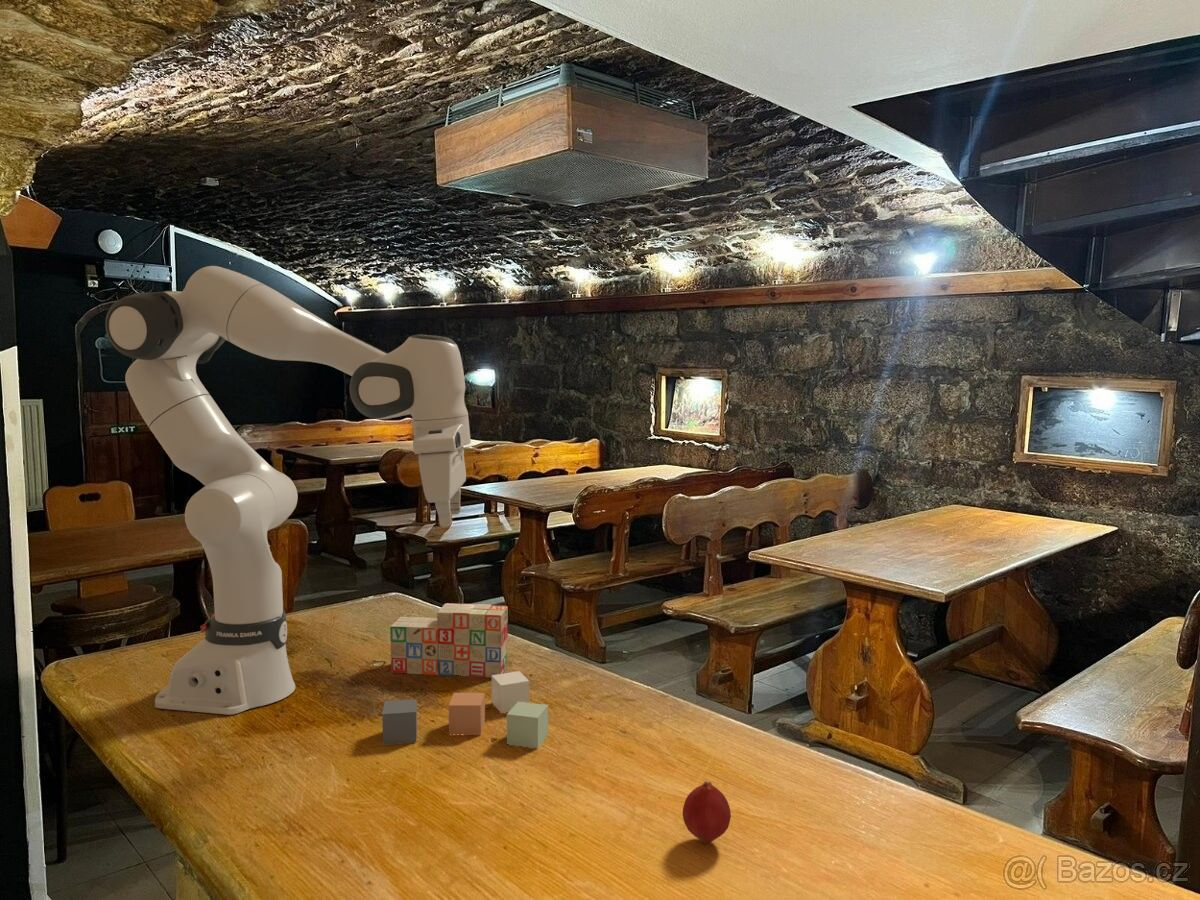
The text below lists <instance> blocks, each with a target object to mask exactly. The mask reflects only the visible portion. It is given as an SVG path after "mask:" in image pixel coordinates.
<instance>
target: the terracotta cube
mask: <svg viewBox="0 0 1200 900" xmlns="http://www.w3.org/2000/svg"><path fill="white" fill-rule="evenodd" d="M485 697H486V695H485V692H453V693H452V696H451V699H450V701H449V704H448V735H449V734H451V735H450V736H456V735H457V734H459V735H461V734H464V735H481V736H482V734H481V733H483V730H484V727H485V724H484V723H486V703H485V702H486V699H485ZM483 726H484V727H483ZM482 729H483V730H482ZM453 734H455V735H453Z"/></svg>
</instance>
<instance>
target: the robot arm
mask: <svg viewBox="0 0 1200 900" xmlns="http://www.w3.org/2000/svg"><path fill="white" fill-rule="evenodd" d="M105 333H106V336H107V338H108V340H109V341H110V343H111V345H112V346H113V348H115V350H116V351H118V352H119V353H120V354H121V355H124V356H126V357H128V358H131V359H135V360H134V362H132V363H131V364H130V365H129V367H128V369H127V371H126V372H125V377H124V378H125V385H126V388H127V389H128V392H129V395H130V396H131V399H132V401H133V402H134V403H133V404H135V406H136V409H137V411H138V412H139V414H140V416H141V418H142V419H143V421H144V422H145V424H146V425H147V427H148V428H149V430H150V432H151V433H152V434H153V435H154V437H155V439H156V440H157V441H158V443H159V444H160V445H161V447H162V449H163V450H164V451H165V453H166V454H167V456H168V457H169V458H170V460H171V462H172V463H173V465H174V466H175V467H177V468H178V469H179V470H181V471H182V472H185V473H187V474H189V475H191V476H192V477H194V478H195V479H196V480H198V481H199V482H200V483H201V484H202V485H203V487H202V488H201V489H199V490H198V491H197V492H195V493H194V494H193V495H192V496H191V497H190V499H189V500H188V502H187V503H186V506H185V511H184V520H185V521H184V522H185V525H186V528H187V529H188V530H187V531H189V533H190V535H191V536H192V537H193V538H194V539H195V540H196V541H198V542H199V543H200V544H201V546H202V548H203V550H204V553H205V555H206V559H207V561H208V564H209V569H210V572H211V577H212V587H213V604H214V606H213V607H214V609H213V610H214V613H213V614H211V617H210V618H209V619H207V620H205V621H204V624H202V625H200V634H202V633H205V634H204V635H205V637H204V639H202V640H201V641H200V642H198V643H197V644H196V645H195V646H193V647H192V648H191V649H190V650H189V651H187V652H186V653H185V654H184V655H182V656H181V657H180V658H179V659H178V660H177V661H176V662H175V664H173V667H172V669H171V671H170V672H171V673H170V676H169V681H168V682H169V683H168V685H166V686H165V687H163V688H162V689H161V690H160V691H159V692H158V693H157V694H156V696H155V697H154V698H155V699H154V708H156V709H162V710H163V709H164V710H174V711H186V712H194V713H195V712H196V713H206V714H217V715H218V714H220V715H226V716H230V715H231V716H232V715H235V714H239V713H242V712H245V711H246V710H249V709H254V708H257V707H263V706H265V705H270V704H273V703H275V702H279V701H281V700H284V699H285V698H287V697H288V696H290V695H291V694H292V693H294V691H295V690H296V684H295V681H294V679H293V675H292V671H291V667H290V664H289V663H290V662H289V660H288V654H287V645H286V643H287V641H288V640H287V638H288V624H287V615H286V611H285V609H284V599H283V597H284V596H283V595H284V594H283V571H282V569H281V567H280V566H281V565H279V564H278V562H276V560H275V559H274V557H273V554H272V552H271V548H270V545H269V541H268V531H271V530H273V529H275V528H277V527H278V526H280V525H282V524H283V523H284V522H285V521H286V520H287V519H288V518H289V517H290V516H291V515H292V513H293V512H294V510H295V509H296V507H297V504H298V498H299V497H298V496H299V495H298V490H297V487H296V485H295V484H294V482H293V480H292V479H291V477H289V476H287V475H286V474H285V473H283V472H281V471H279V470H277V469H276V468H274V467H273V466H272V465H270V464H269V463H268V462H267V461H266V460H265V459H264V458H263V457H262V456H261V455H260V454H259V453H257V451H255V449H254V448H252V447H251V446H250V445H249V444H248V442H246V440H244V439H243V438H242V436H240V434H239V433H238V432H237V431H236V430H235V428H234V427H233V426H232V424H231V423H230V421H229V420H228V418H227V417H226V416H225V414H224V413H223V411H222V410H221V409H220V407H219V406H218V404H217V403H216V401H215V400H214V398H213V397H212V396H211V394H210V392H209V391H208V390H207V389H206V388H205V385H204V384H203V383H202V381H201V380H200V378H199V376H198V374H197V365H198V364H199V365H203V364H206V363H208V362H209V361H210V359H211V358H212V356H213V355H214V354H215V352H216V351H218V349H219V348H220V347H221V346H222V345H223V344H224V343H225V342H226V341H227V342H230V343H231V344H233V345H234V346H236V347H239V348H240V349H242V350H244V351H247V352H248V353H251V354H254V355H257V356H260V357H262V358H266V359H269V360H274V361H275V360H276V361H294V362H295V361H298V362H309V363H310V362H311V363H317V364H322V365H327V366H329V367H332V368H335V369H336V370H339V371H341V372H343V373H344V374H346V375H349V376H351V378H350V382H349V396H350V399H351V402H352V403H353V405H354V407H355V408H356V410H357V411H358V412H359V413H360V414H362V415H364V416H365V417H367V418H370V419H376V420H389V419H392V418H393V419H394V418H398V417H400V418H401V417H402V416H411V417H412V418H411V420H412V425H413V426H412V427H413V428H412V429H413V440H412V447H413V453H414V454H415V455H418V466H419V472H420V479H421V483H422V489H423V494H424V497H425V500H426V501H427V503H429V504H430V503H431V504H432V503H434V505H435V509H436V511H437V516H438V523H439V526H440V527H442V528H445V527H446V528H447V527H450V526H452V523H453V516H454V515H455V516H456V515H459V514H460V512H461V511H462V509H461V508H462V507H461V487H462V486H463V485H464V484H465V482H466V481H467V471H466V462H465V450H464V446H468V445H470V444H471V443H472V442H471V431H470V421H469V420H470V419H469V412H468V409H467V406H466V403H465V393H466V381H465V374H464V366H463V360H462V356H461V352H460V349H459V346H458V344H457V343H456V341H454V340H453V339H452V338H450V337H447V336H443V335H442V336H441V335H433V334H429V335H428V334H421V333H419V334H414V335H410V336H409V337H408V338H407V339H406V340H405V341H404V342H403V343H402V344H401V345H399V346H398V347H396V348H395V349H393V350H392V351H390V352H387V351H384V350H382V349H381V348H378V347H376V346H374V345H372V344H370V343H367V342H366V341H364V340H362V339H360V338H358V337H356V336H353V335H351V334H350V333H347V332H346V331H344V330H341V329H339V328H338V327H335V326H333V325H332V324H330V323H329V322H327V321H325V320H324V319H322V318H320V317H319V316H317V315H316V314H314V313H312V312H311V311H309V310H307V309H306V308H304V307H302V305H299V304H298V303H296V302H295V301H294V300H292V299H290V298H289V297H288V296H285V295H284V294H282V293H281V292H279V291H277V290H276V289H273V288H272V287H270V286H268V285H266V284H265V283H262V282H261V281H258V280H257V279H254V278H252V277H250V276H248V275H245V274H242V273H240V272H238V271H235V270H231V269H228V268H224V267H221V266H217V265H210V266H209V265H208V266H204V267H201V268H199V269H198V270H196V271H195V272H194V273H193V274H192V275H191V276H190V277H189V278H188V280H187V281H186V284H185V287H184V288H183V290H182V291H180V290H179V291H178V290H177V291H176V290H165V291H157V292H154V291H153V292H137V293H133V294H129V295H127V296H124V297H122V298H119V299H118V300H116V301H115V302H113V304H112V305H111V306H110V307H109V309H108V310H107V312H106V316H105Z"/></svg>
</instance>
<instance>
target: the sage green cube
mask: <svg viewBox="0 0 1200 900" xmlns="http://www.w3.org/2000/svg"><path fill="white" fill-rule="evenodd" d="M547 735H548V736H549V704H543V703H533V702H529V703H527V702H517V703H516V704H515V706H514V707H513V708H512V709H511V710H510V711H509V712H508V713H506V745H507V744H509V745H508V746H511V745H515V746H514V747H519V746H523V747H522V748H526V747H528V748H529V749H534V748H538V749H539V748H540V747H541V746H542V744H543V743H544V742H545V740H546V739H545V738H547V737H548V736H547ZM544 739H545V740H544ZM542 742H543V743H542ZM539 746H540V747H539ZM528 748H527V749H528Z"/></svg>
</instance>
